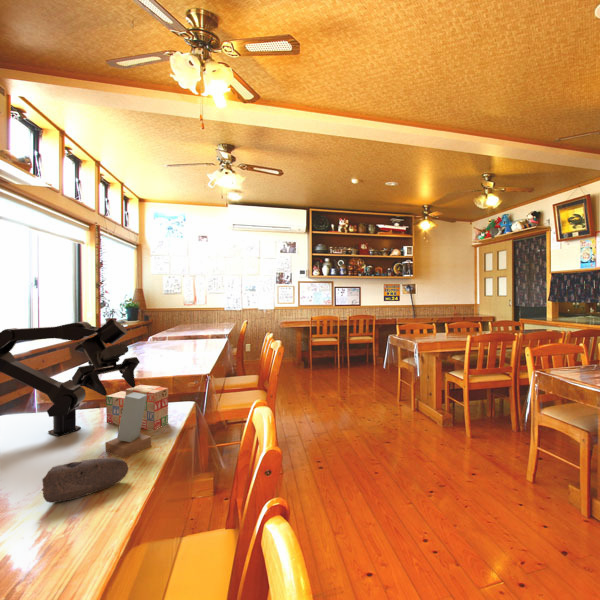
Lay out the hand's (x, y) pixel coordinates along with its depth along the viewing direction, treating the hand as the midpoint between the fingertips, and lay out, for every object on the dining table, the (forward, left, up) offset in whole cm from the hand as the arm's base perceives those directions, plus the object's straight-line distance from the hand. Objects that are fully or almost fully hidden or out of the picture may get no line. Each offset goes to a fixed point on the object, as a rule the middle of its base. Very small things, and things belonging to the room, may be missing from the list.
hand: (120, 390), depth 95 cm
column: (+11, -5, -11) cm, 16 cm away
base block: (+11, -5, -14) cm, 18 cm away
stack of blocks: (-4, +8, -14) cm, 17 cm away
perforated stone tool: (+22, -21, -14) cm, 34 cm away
